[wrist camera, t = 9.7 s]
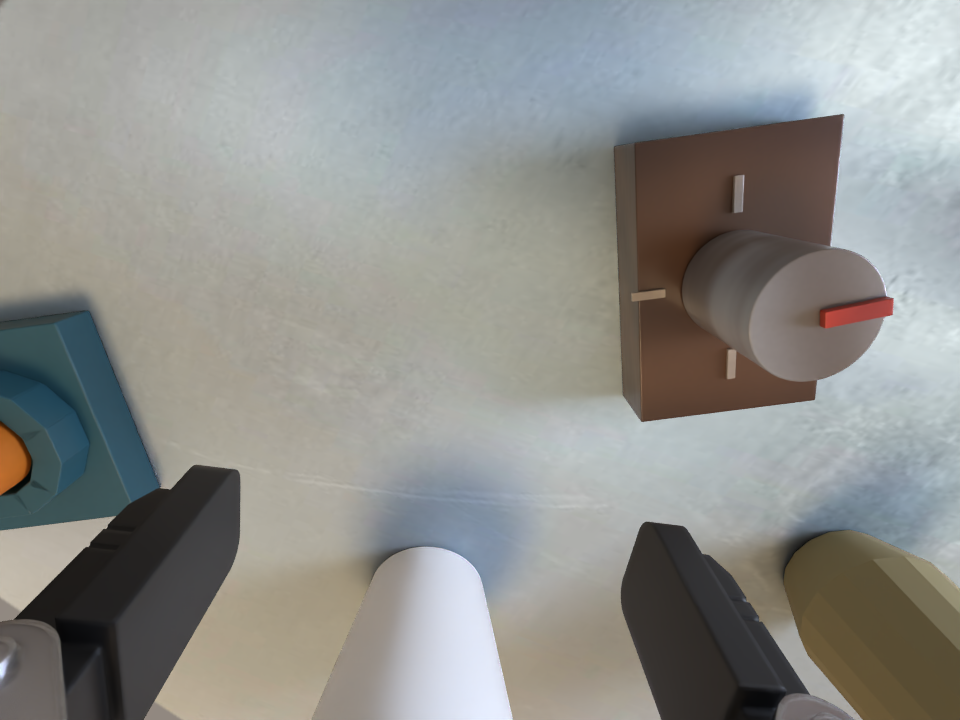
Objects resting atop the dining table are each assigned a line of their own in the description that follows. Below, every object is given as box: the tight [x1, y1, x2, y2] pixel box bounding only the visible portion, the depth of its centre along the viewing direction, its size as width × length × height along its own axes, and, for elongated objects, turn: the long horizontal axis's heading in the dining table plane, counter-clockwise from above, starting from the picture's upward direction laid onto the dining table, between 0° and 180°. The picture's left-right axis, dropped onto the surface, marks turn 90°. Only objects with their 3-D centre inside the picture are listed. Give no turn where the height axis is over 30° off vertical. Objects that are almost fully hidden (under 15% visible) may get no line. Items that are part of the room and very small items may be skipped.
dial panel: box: [614, 114, 844, 422], centre depth 23 cm, size 12×9×3 cm
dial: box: [682, 230, 894, 382], centre depth 19 cm, size 4×4×6 cm
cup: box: [312, 547, 513, 720], centre depth 25 cm, size 9×9×12 cm
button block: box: [0, 311, 160, 530], centre depth 24 cm, size 10×8×4 cm
